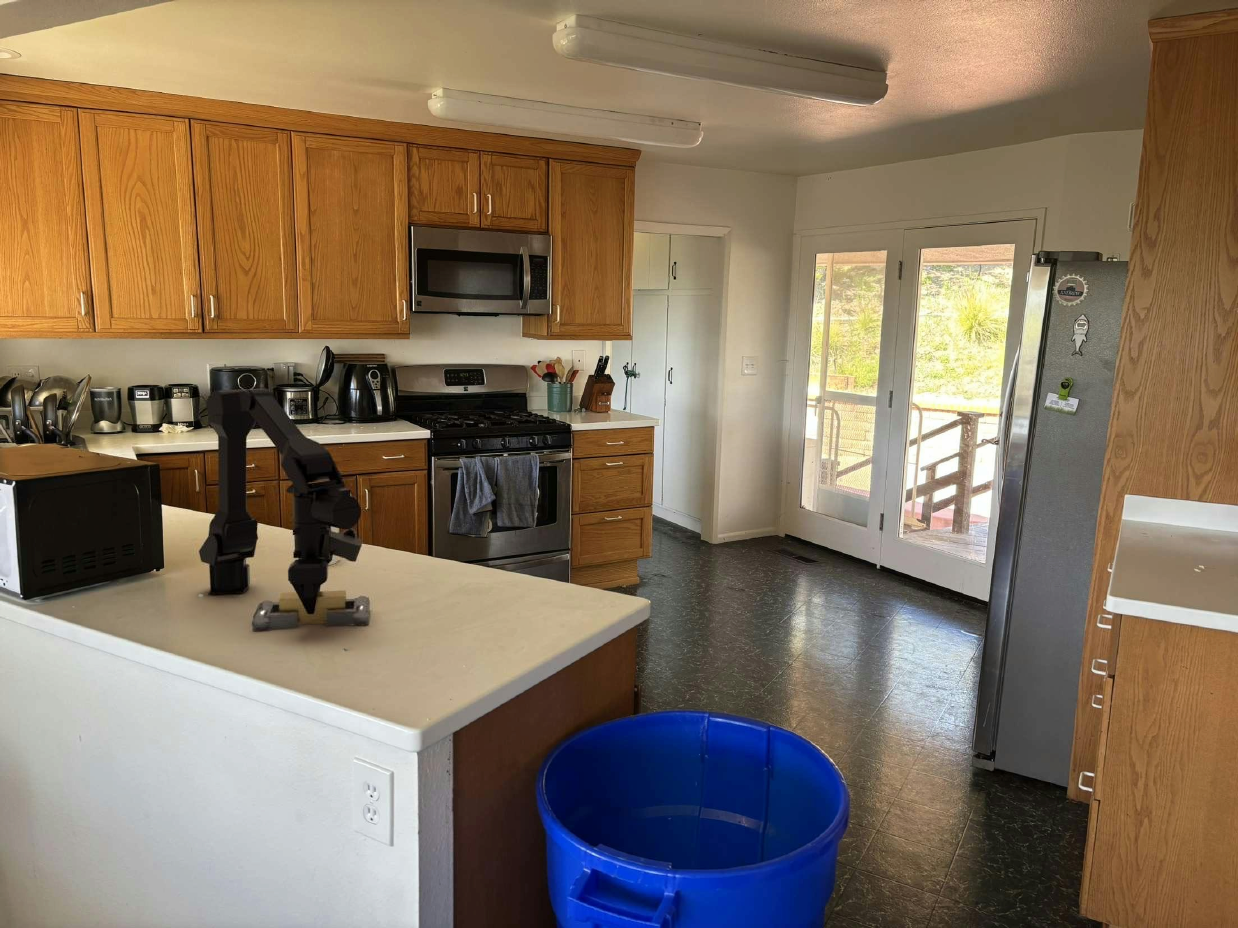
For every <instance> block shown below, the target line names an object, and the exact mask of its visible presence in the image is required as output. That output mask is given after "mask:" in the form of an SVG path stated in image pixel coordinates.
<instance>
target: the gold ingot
mask: <svg viewBox="0 0 1238 928" xmlns="http://www.w3.org/2000/svg"><path fill="white" fill-rule="evenodd" d="M346 599H347V590H346V589H345V590H344V589H343V590H327V591H325V590H322V591H321V590H320V591H318V595H317V601H316V607H315V612H314V614H307V612H306V610H305V608H304V606H303V604H302V602H301V600H300V598H299V597H298V595H297V593H296V591H294V592H281V593H280V596H279V598H278V602H279V613H283V612H297V625H309V624H310V625H312V624H327V610H343V609H346Z"/></svg>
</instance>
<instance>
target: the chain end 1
mask: <svg viewBox="0 0 1238 928" xmlns="http://www.w3.org/2000/svg"><path fill="white" fill-rule="evenodd" d="M251 626H252V629H253V630H252V631H253V632H262V631H263V632H264V631H269V630H281V629H282V630H283V629H297V628H298V624H297V612H283V613H279V601H278V602H277V601H276V602H275V601H272V600H269V599H268V600H266V599H265V600H263V601H262V602H259V603H258V604H257V607H256V609H255V612H254V613H253V615H252V621H251Z"/></svg>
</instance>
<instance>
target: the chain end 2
mask: <svg viewBox="0 0 1238 928" xmlns="http://www.w3.org/2000/svg"><path fill="white" fill-rule="evenodd" d="M370 606H371V601H370V597H367V596H366V595H360V596H358V597H355V598H346V609H343V610H327V623H326V626H327V627H339V626H341V627H342V626H368V625H369V620H370V608H371V607H370Z"/></svg>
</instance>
